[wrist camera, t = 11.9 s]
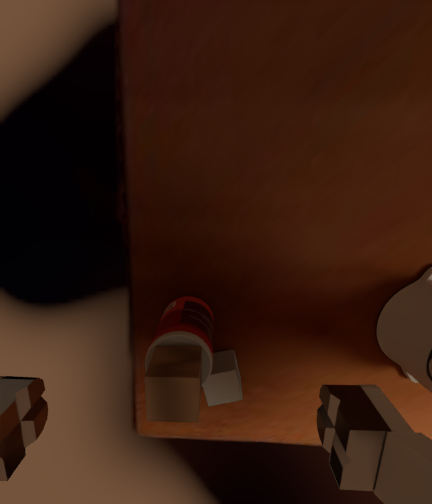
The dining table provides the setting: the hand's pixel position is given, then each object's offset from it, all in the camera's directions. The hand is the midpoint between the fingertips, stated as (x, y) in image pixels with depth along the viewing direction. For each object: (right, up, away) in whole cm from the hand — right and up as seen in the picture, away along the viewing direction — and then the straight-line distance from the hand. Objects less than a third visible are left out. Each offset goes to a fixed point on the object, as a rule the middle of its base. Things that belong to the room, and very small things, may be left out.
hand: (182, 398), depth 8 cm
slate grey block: (+2, -14, +36) cm, 38 cm away
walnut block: (-3, -8, +23) cm, 25 cm away
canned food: (-3, -6, +34) cm, 34 cm away
